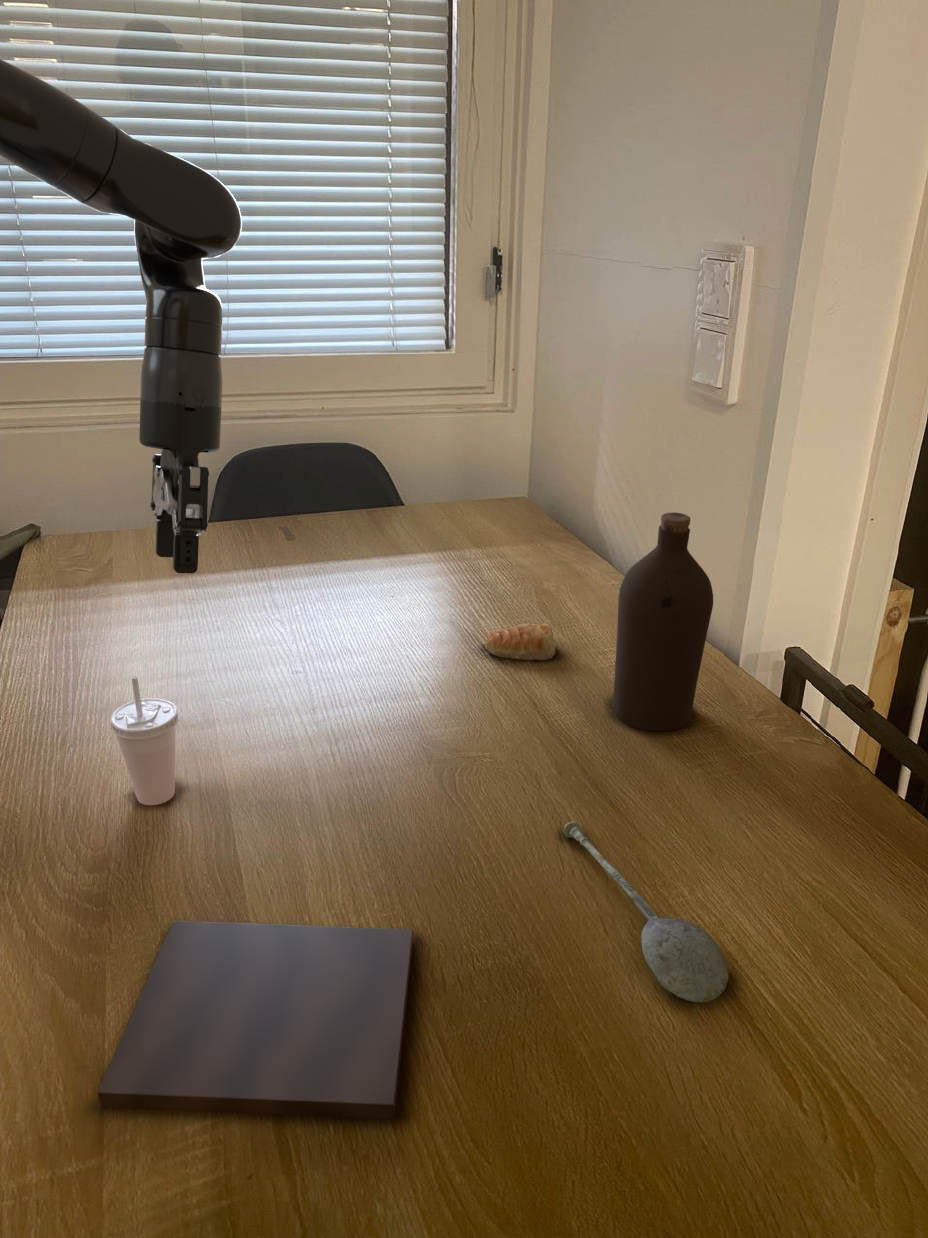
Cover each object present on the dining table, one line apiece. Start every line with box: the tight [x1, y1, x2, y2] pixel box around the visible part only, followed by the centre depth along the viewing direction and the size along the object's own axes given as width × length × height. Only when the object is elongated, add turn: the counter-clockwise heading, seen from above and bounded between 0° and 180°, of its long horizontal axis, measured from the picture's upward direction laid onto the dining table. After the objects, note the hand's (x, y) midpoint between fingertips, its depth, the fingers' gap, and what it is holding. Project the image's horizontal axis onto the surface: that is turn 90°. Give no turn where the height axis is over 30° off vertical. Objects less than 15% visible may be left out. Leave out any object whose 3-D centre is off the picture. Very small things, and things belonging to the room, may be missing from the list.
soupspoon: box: [562, 820, 729, 1004], centre depth 79 cm, size 22×3×7 cm
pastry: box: [484, 622, 556, 661], centre depth 124 cm, size 9×7×4 cm
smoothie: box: [109, 675, 180, 806], centre depth 91 cm, size 6×6×14 cm
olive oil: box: [612, 512, 714, 733], centre depth 105 cm, size 11×11×25 cm
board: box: [97, 920, 414, 1120], centre depth 68 cm, size 20×16×2 cm
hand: (175, 564), depth 91 cm, fingers open, 8 cm apart
